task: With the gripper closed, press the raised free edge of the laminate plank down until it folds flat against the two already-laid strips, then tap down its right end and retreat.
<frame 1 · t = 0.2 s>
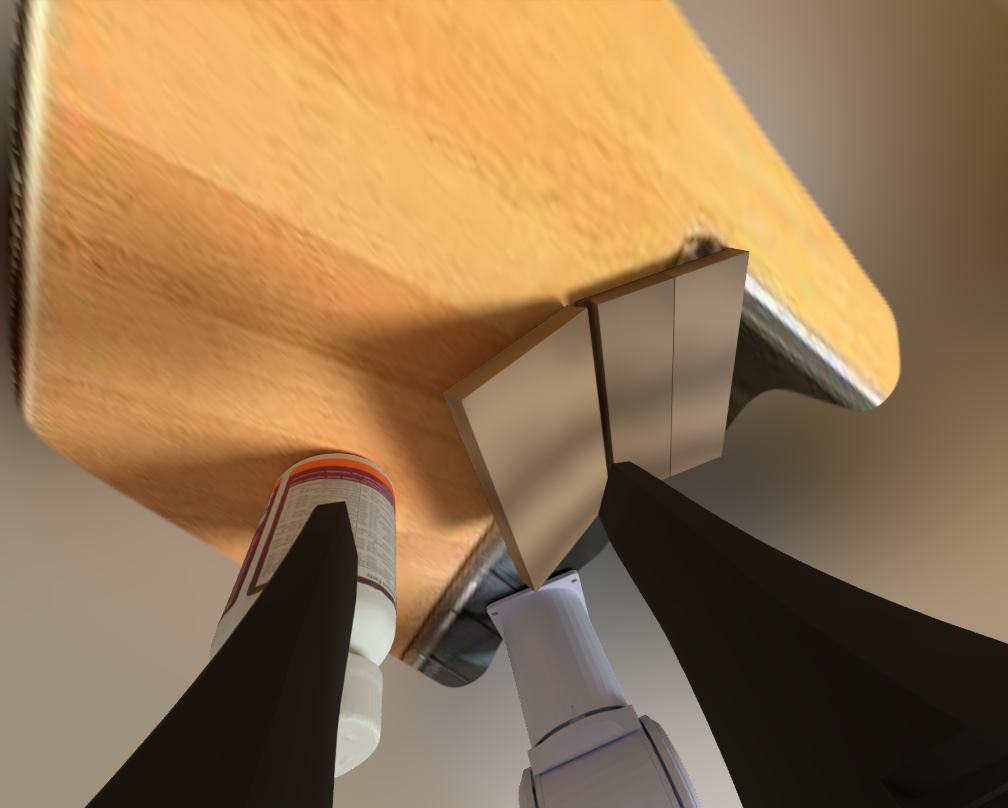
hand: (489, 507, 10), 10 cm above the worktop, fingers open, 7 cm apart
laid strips: (659, 386, 22), on the worktop
pill bottle: (338, 489, 20), on the worktop
plank: (550, 461, 19), point 3 cm above the worktop, hinge at 30.0°
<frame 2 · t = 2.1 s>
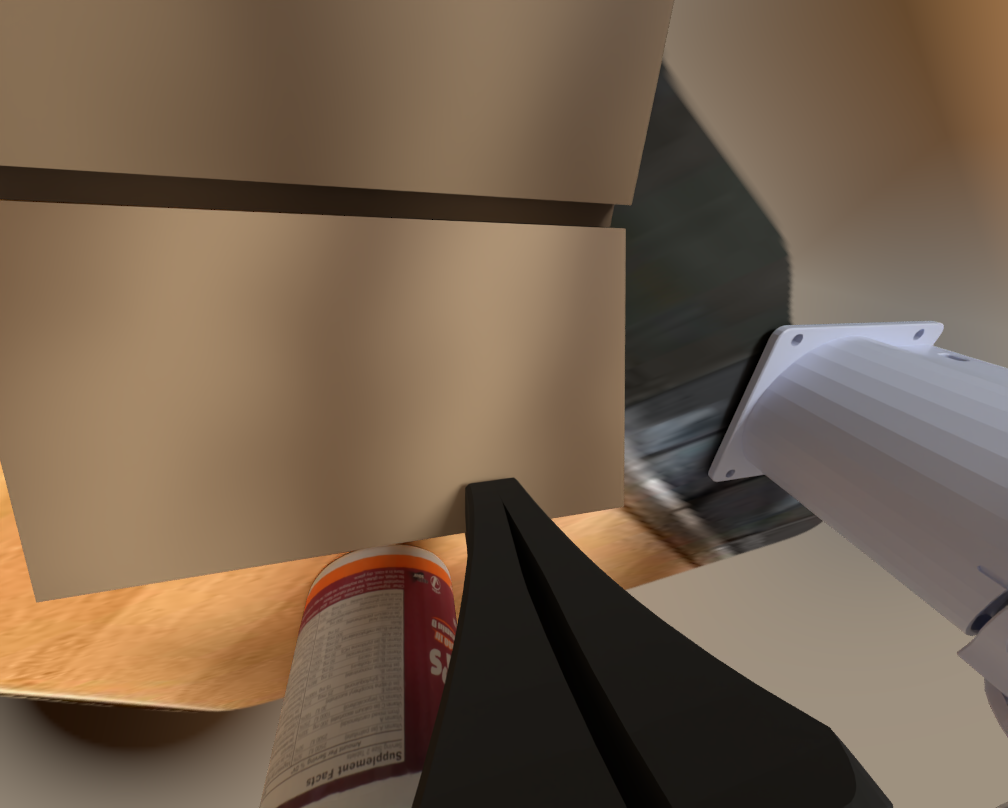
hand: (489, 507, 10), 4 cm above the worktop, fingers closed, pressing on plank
pill bottle: (383, 579, 17), on the worktop
plank: (370, 389, 9), point 2 cm above the worktop, hinge at 23.1°, touching gripper
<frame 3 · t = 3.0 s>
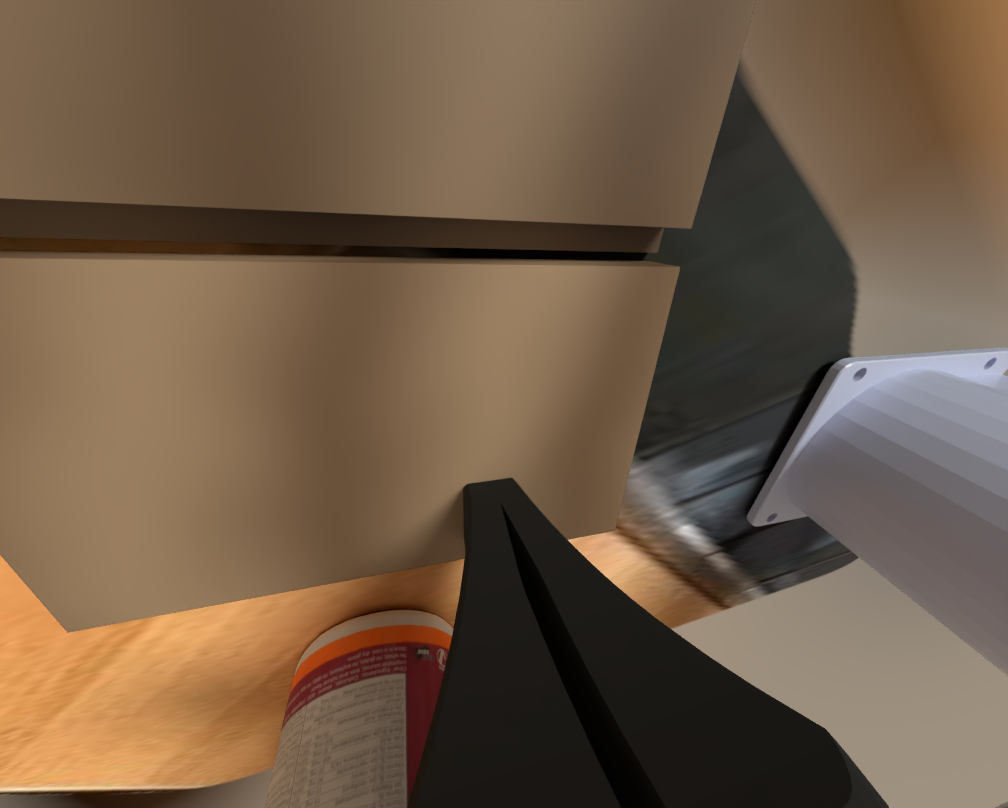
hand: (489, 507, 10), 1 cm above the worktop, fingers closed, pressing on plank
pill bottle: (382, 643, 15), on the worktop
plank: (370, 438, 9), point 1 cm above the worktop, hinge at 3.2°, touching gripper
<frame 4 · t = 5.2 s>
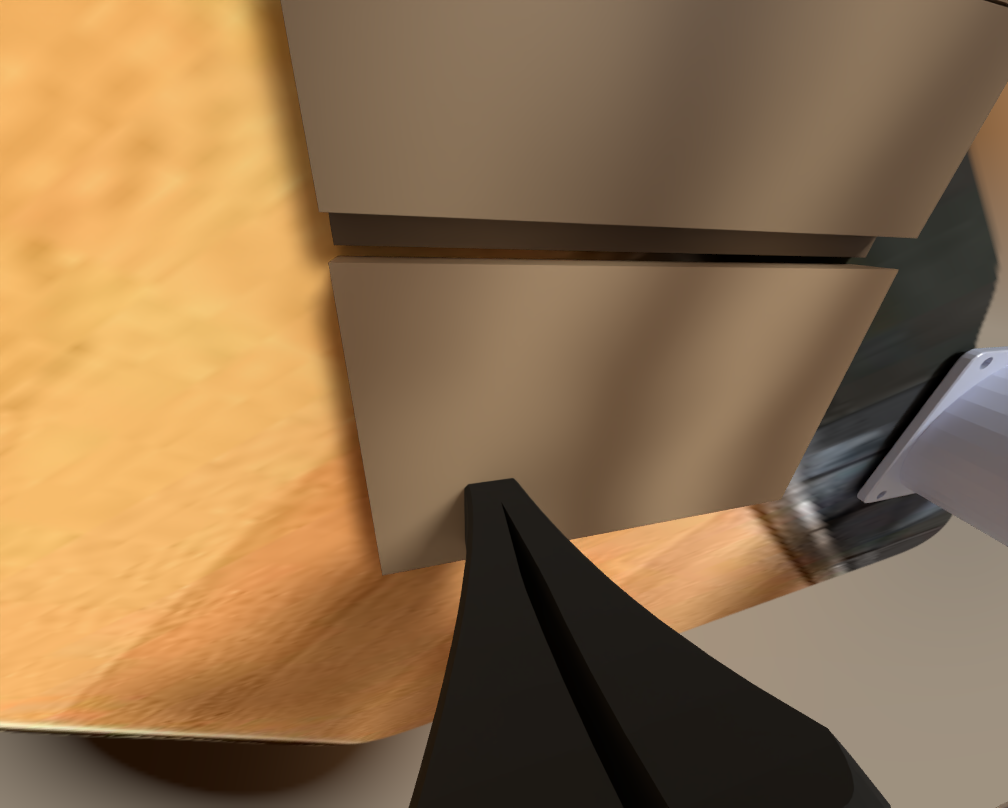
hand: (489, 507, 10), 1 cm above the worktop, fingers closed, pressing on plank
plank: (625, 413, 10), point 1 cm above the worktop, hinge at 3.2°, touching gripper
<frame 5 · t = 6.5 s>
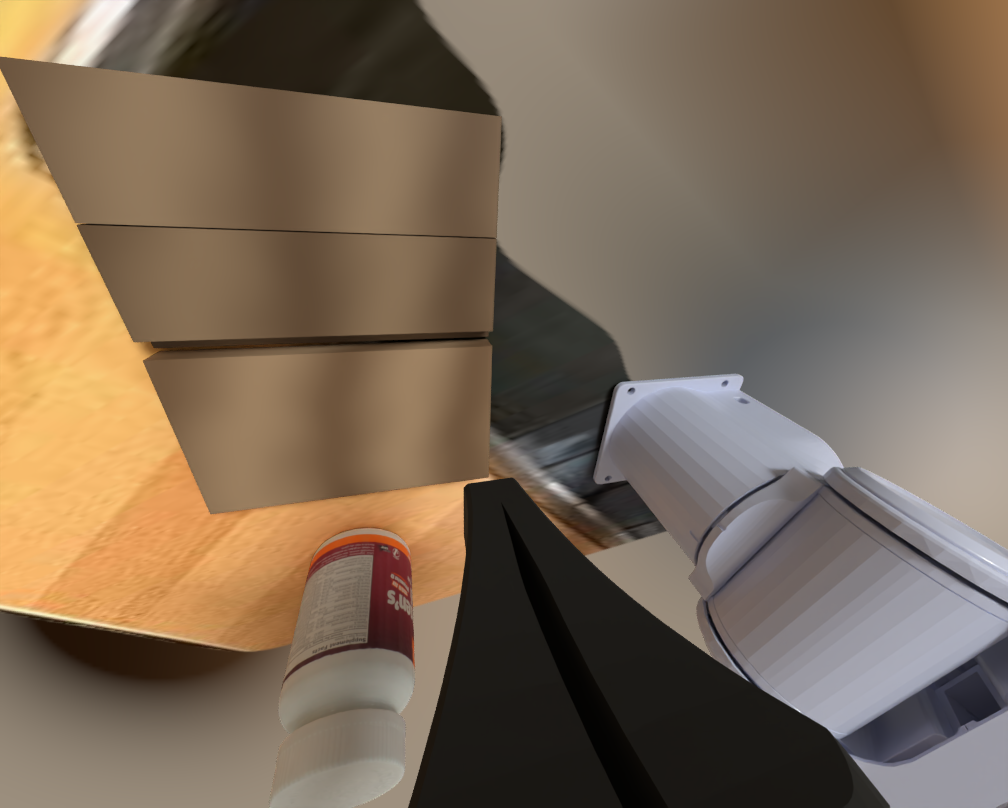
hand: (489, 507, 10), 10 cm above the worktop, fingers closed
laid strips: (319, 229, 14), on the worktop
pill bottle: (363, 553, 24), on the worktop
plank: (351, 424, 18), point 1 cm above the worktop, hinge at 3.2°
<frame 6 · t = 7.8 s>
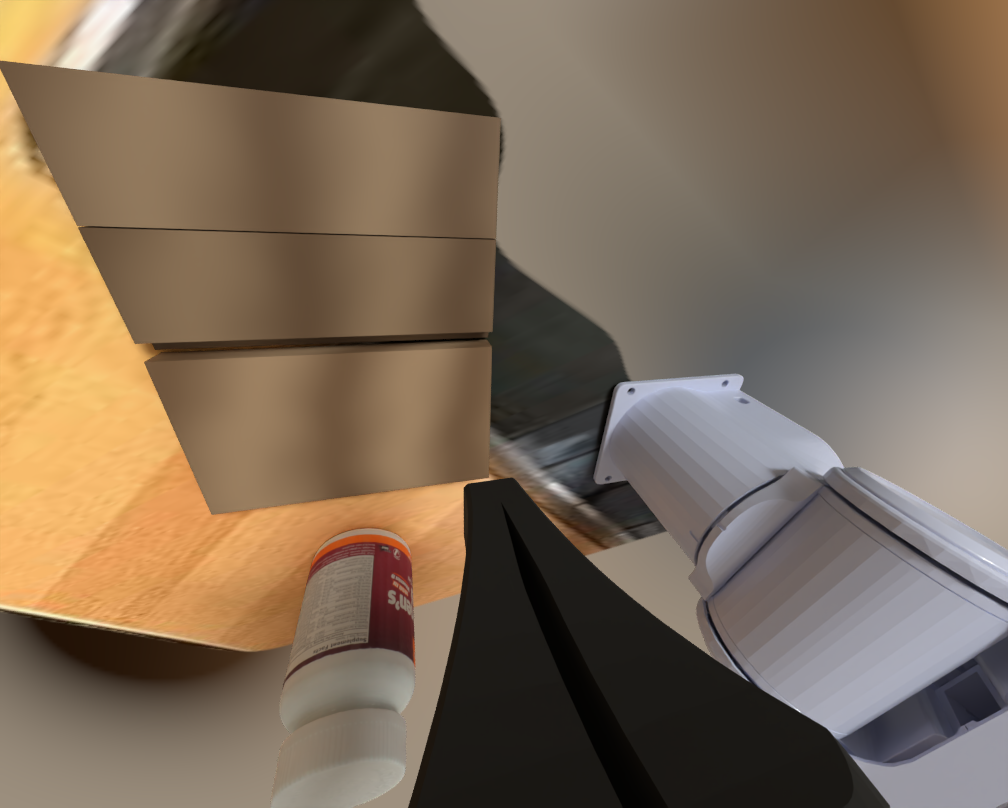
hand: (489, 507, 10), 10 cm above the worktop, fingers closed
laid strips: (319, 231, 14), on the worktop
pill bottle: (363, 553, 24), on the worktop
plank: (352, 425, 18), point 1 cm above the worktop, hinge at 3.2°
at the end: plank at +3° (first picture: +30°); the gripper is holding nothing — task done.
